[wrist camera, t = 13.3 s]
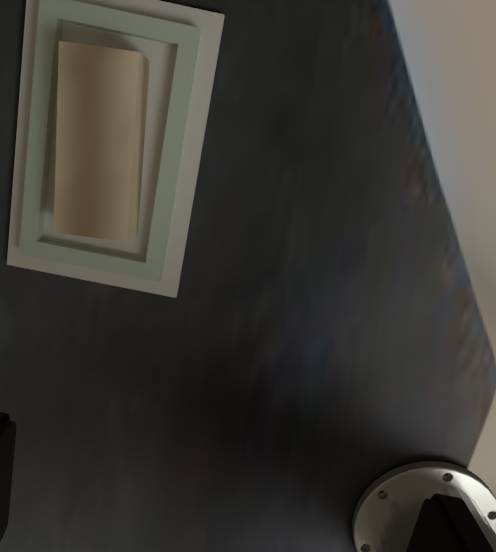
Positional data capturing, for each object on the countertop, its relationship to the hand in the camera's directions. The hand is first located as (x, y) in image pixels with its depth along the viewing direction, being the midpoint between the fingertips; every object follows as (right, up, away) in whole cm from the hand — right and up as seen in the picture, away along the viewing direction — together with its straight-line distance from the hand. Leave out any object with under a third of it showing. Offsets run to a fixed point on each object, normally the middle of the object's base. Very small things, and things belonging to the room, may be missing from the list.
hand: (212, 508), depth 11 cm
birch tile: (-9, +14, +23) cm, 29 cm away
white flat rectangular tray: (-9, +14, +24) cm, 29 cm away
